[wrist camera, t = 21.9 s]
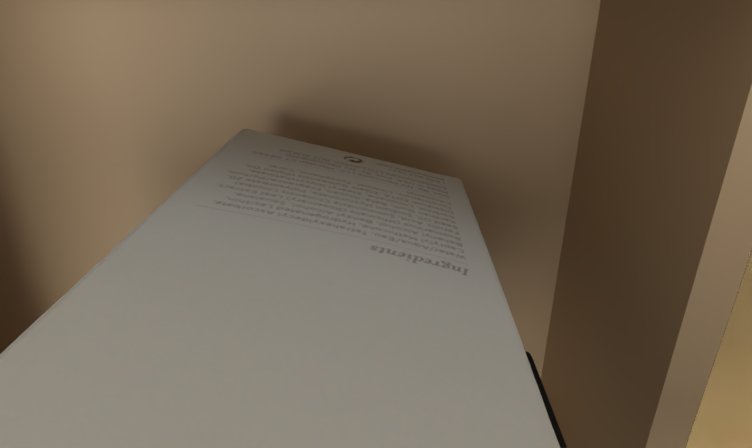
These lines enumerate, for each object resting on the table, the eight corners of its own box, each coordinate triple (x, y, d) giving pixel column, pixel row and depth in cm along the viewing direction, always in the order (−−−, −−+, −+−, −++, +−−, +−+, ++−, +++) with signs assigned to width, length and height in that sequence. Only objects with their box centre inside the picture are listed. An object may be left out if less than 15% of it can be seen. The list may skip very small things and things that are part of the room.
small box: (243, 120, 12) (-360, 614, 2) (467, 174, 12) (723, 786, 3) (211, 374, 15) (-97, 1010, 6) (389, 410, 16) (381, 1065, 6)
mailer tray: (627, -45, 13) (864, -86, 6) (546, 422, 19) (623, 631, 13) (-205, -31, 13) (-745, -54, 7) (-6, 416, 20) (-191, 611, 14)
